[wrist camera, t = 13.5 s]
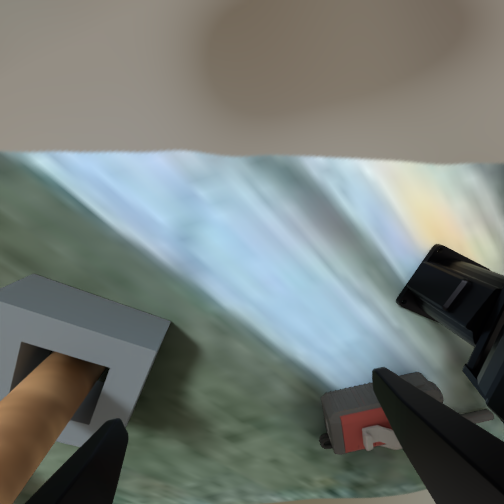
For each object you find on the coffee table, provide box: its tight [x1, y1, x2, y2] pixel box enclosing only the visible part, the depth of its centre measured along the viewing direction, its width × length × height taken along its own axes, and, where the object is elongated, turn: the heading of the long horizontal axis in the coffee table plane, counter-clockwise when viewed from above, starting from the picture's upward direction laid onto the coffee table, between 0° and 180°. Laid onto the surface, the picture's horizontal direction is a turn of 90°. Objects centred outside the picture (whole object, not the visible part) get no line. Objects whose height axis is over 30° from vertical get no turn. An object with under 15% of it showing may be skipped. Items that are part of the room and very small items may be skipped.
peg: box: [0, 351, 106, 504], centre depth 16 cm, size 4×4×12 cm
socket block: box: [0, 274, 171, 447], centre depth 20 cm, size 12×12×4 cm
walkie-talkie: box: [319, 372, 494, 454], centre depth 25 cm, size 9×4×20 cm
